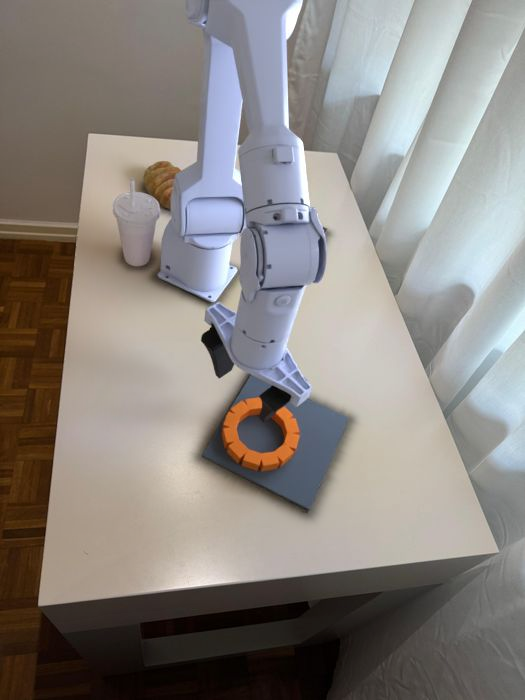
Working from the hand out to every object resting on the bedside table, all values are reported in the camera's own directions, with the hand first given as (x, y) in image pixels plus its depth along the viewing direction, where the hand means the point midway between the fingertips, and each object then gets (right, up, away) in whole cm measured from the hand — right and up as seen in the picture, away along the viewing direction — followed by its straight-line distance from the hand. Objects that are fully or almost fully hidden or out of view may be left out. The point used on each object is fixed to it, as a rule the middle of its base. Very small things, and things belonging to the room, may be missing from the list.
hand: (245, 393), depth 68 cm
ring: (+2, -5, +3) cm, 6 cm away
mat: (+4, -6, +4) cm, 8 cm away
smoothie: (-17, +19, +18) cm, 31 cm away
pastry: (-14, +31, +28) cm, 45 cm away
